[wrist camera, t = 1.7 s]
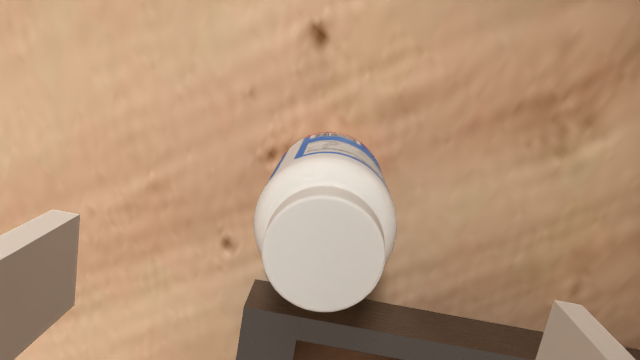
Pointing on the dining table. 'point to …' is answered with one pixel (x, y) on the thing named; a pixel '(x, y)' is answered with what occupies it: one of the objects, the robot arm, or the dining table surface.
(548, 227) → the dining table surface
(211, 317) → the dining table surface
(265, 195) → the pill bottle
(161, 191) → the dining table surface
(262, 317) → the grey bottle holder tray
